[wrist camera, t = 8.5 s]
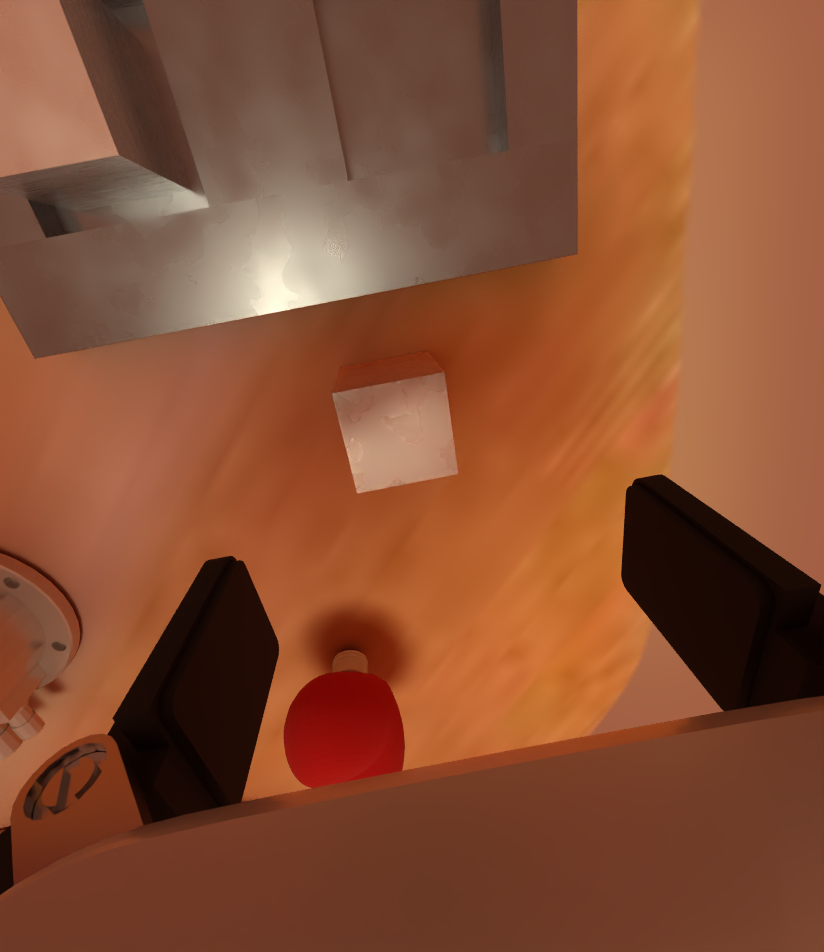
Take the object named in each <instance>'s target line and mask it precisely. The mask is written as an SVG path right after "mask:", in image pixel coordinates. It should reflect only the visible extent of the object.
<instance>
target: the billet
mask: <svg viewBox="0 0 824 952" xmlns="http://www.w3.org/2000/svg"><path fill="white" fill-rule="evenodd" d="M332 397H333V401H334V405H335V409H336V412H337V416H338V420H339V424H340V428H341V432H342V436H343V440H344V444H345V448H346V451H347V455H348V459H349V463H350V467H351V471H352V475H353V479H354V483H355V487H356V490H357V493H363V492H368V491H373V490H378V489H383V488H388V487H394V486H399V485H404V484H409V483H414V482H419V481H425V480H430V479H435V478H440V477H445V476H450V475H456V474H458V469H457V461H456V454H455V446H454V439H453V431H452V424H451V417H450V409H449V402H448V394H447V387H446V379H445V372H444V371H443V370H442V368H441V367H440V366H439V365H438V363H437V362H436V361H435V360H434V358H433V357H432V356H431V355H430V353H429V352H428V351H424V352H419V353H413V354H408V355H403V356H398V357H392V358H387V359H382V360H377V361H371V362H366V363H361V364H356V365H350V366H345V367H340V369H339V372H338V376H337V379H336V382H335V385H334V388H333V391H332Z"/></svg>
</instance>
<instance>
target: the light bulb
mask: <svg viewBox="0 0 824 952" xmlns="http://www.w3.org/2000/svg"><path fill="white" fill-rule="evenodd" d="M284 747H285V753H286V758H287V761H288V764H289V766H290V768H291V770H292V772H293V774H294V775H295V777H296V778H297V779H298V780H299V781H300V782H301V783H302V784H304V785H305V786H307V787H311V788H316V787H321V786H327V785H332V784H337V783H342V782H347V781H352V780H358V779H363V778H368V777H373V776H378V775H383V774H388V773H394V772H399V771H402V769H403V762H404V751H405V741H404V730H403V724H402V719H401V716H400V712H399V708H398V705H397V702H396V700H395V698H394V695H393V693H392V691H391V688H390V687H389V685H388V684H387V682H386V681H384V680H382V679H380V678H379V677H377V676H375V675H372V674H368V661H367V658H366V656H365V655H364V654H363V653H361V652H359V651H356V650H346V651H342V652H340V653H339V654H337V655H336V656H335V657H334V659H333V662H332V672H331V673H328V674H324V675H321V676H319V677H317V678H315V679H313V680H312V681H310V682H309V683H308V684H306V685H305V686H304V687H303V688H302V689H301V690H300V692H299V693H298V694H297V696H296V697H295V699H294V701H293V702H292V704H291V706H290V708H289V711H288V714H287V718H286V722H285V726H284Z"/></svg>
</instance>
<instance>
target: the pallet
mask: <svg viewBox="0 0 824 952" xmlns="http://www.w3.org/2000/svg"><path fill="white" fill-rule="evenodd" d="M101 1H102V2H103V3H104V4H105V5H106V6H107V8H108V9H109V10H110V11H111V12H112V13H113V14H114V15H115V16H116V17H117V18H118V19H119V20H120V21H121V22H122V23H123V24H124V25H125V26H126V27H127V28H128V29H129V30H130V31H131V33H132V34H133V35H134V36H135V37H136V38H137V39H138V40H139V41H140V43H141V46H142V49H143V52H144V55H145V58H146V61H147V64H148V66H149V69H150V72H151V75H152V78H153V81H154V84H155V87H156V90H157V93H158V96H159V99H160V102H161V105H162V108H163V111H164V114H165V117H166V120H167V123H168V126H169V129H170V132H171V135H172V138H173V141H174V144H175V147H176V150H177V153H178V156H179V159H180V161H181V164H182V167H183V170H184V173H185V176H186V179H187V182H188V185H189V188H190V191H184V192H179V193H174V194H169V195H163V196H158V197H153V198H147V199H142V200H137V201H132V202H126V203H121V204H116V205H110V206H105V207H100V208H94V209H89V210H84V211H76V210H71V209H67V208H63V207H58V206H54V205H50V204H46V203H41V202H37V201H33V200H28V199H24V198H20V197H16V196H11V195H7V194H3V193H0V296H1V298H2V300H3V302H4V304H5V306H6V307H7V309H8V311H9V313H10V315H11V316H12V318H13V320H14V322H15V324H16V325H17V327H18V329H19V331H20V333H21V335H22V336H23V338H24V340H25V342H26V344H27V345H28V347H29V349H30V351H31V353H32V354H33V356H34V358H35V359H36V358H41V357H46V356H51V355H56V354H62V353H67V352H72V351H77V350H82V349H88V348H93V347H98V346H103V345H108V344H113V343H119V342H124V341H129V340H134V339H139V338H145V337H150V336H155V335H160V334H165V333H171V332H176V331H181V330H186V329H191V328H196V327H202V326H207V325H212V324H217V323H222V322H228V321H233V320H238V319H243V318H248V317H254V316H259V315H264V314H269V313H274V312H279V311H285V310H290V309H295V308H300V307H305V306H311V305H316V304H321V303H326V302H331V301H337V300H342V299H347V298H352V297H357V296H363V295H368V294H373V293H378V292H383V291H388V290H394V289H399V288H404V287H409V286H414V285H420V284H425V283H430V282H435V281H440V280H446V279H451V278H456V277H461V276H466V275H471V274H477V273H482V272H487V271H492V270H497V269H503V268H508V267H513V266H518V265H523V264H529V263H534V262H539V261H544V260H549V259H554V258H560V257H565V256H570V255H575V254H577V0H101Z"/></svg>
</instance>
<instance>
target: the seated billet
mask: <svg viewBox="0 0 824 952" xmlns="http://www.w3.org/2000/svg"><path fill="white" fill-rule="evenodd" d="M184 191H190V188H189V185H188V182H187V179H186V176H185V173H184V170H183V167H182V164H181V161H180V159H179V156H178V153H177V150H176V147H175V144H174V141H173V138H172V135H171V132H170V129H169V126H168V123H167V120H166V117H165V114H164V111H163V108H162V105H161V102H160V99H159V96H158V93H157V90H156V87H155V84H154V81H153V78H152V75H151V72H150V69H149V66H148V64H147V61H146V58H145V55H144V52H143V49H142V46H141V43H140V41H139V40H138V39H137V38H136V37H135V36H134V35H133V34H132V33H131V31H130V30H129V29H128V28H127V27H126V26H125V25H124V24H123V23H122V22H121V21H120V20H119V19H118V18H117V17H116V16H115V15H114V14H113V13H112V12H111V11H110V10H109V9H108V8H107V6H106V5H105V4H104V3H103V2H102V1H101V0H0V193H3V194H7V195H11V196H16V197H20V198H24V199H28V200H33V201H37V202H41V203H46V204H50V205H54V206H58V207H63V208H67V209H71V210H76V211H84V210H89V209H94V208H100V207H105V206H110V205H116V204H121V203H126V202H132V201H137V200H142V199H147V198H153V197H158V196H163V195H169V194H174V193H179V192H184Z"/></svg>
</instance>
